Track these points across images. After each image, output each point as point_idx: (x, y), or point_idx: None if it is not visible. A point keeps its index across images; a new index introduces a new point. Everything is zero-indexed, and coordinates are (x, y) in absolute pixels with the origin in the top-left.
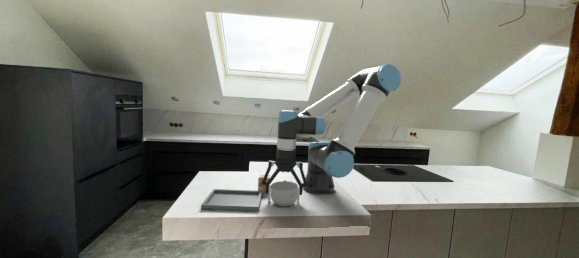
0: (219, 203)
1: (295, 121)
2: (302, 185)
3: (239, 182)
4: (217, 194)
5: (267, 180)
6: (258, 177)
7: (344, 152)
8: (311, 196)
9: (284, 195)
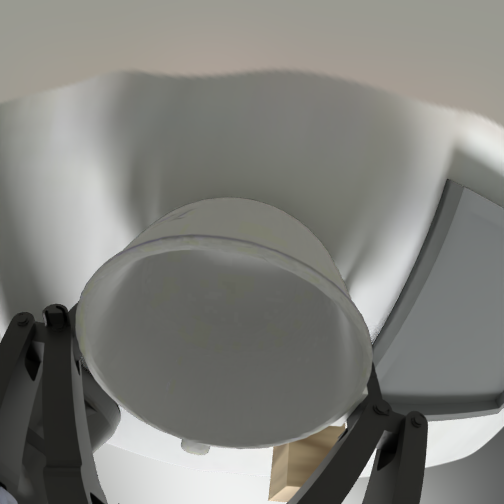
0: None
1: None
2: (45, 328)
3: (366, 474)
4: (499, 388)
5: (299, 473)
6: None
7: None
8: None
9: (249, 218)
